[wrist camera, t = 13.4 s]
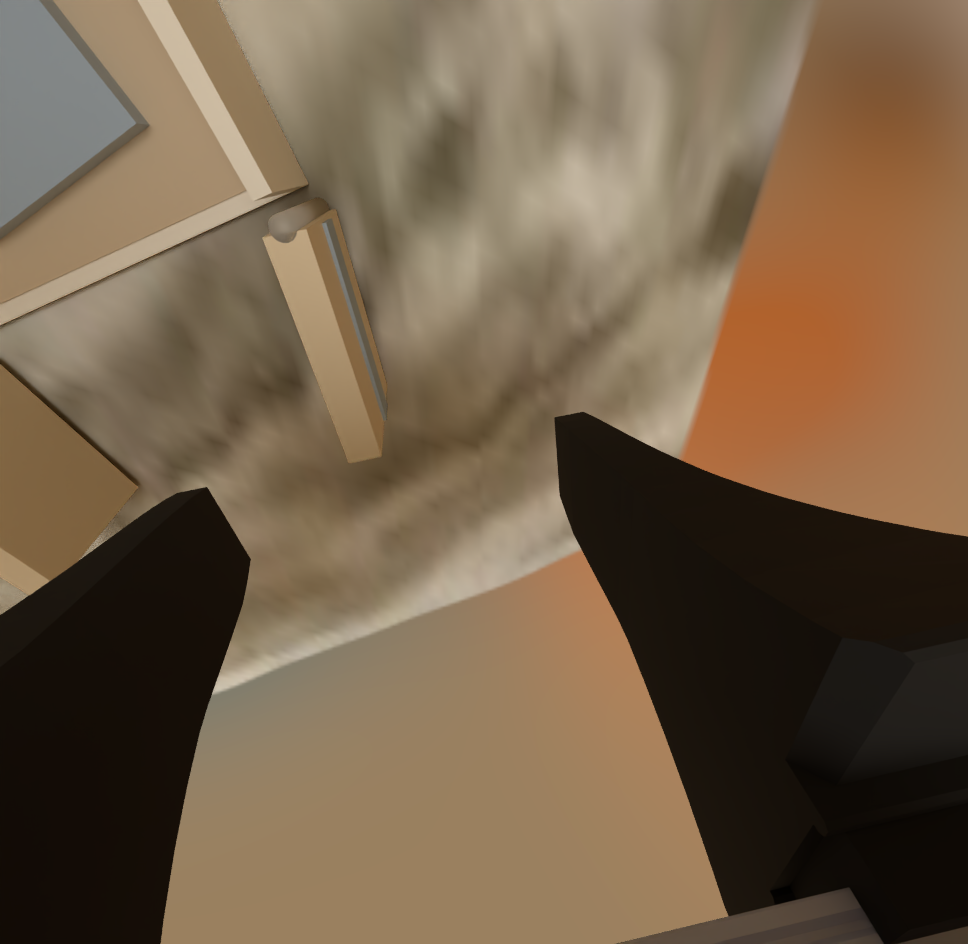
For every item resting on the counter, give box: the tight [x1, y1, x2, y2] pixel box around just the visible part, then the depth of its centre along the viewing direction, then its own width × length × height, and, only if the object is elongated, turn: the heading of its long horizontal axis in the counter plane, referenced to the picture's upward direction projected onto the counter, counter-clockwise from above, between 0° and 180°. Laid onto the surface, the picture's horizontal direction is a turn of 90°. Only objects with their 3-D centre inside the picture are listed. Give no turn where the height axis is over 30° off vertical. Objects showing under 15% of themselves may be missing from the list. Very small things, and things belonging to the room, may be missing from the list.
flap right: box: [262, 198, 388, 463], centre depth 14 cm, size 7×1×6 cm, turn 9°
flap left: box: [0, 364, 138, 595], centre depth 15 cm, size 7×1×6 cm, turn 24°
